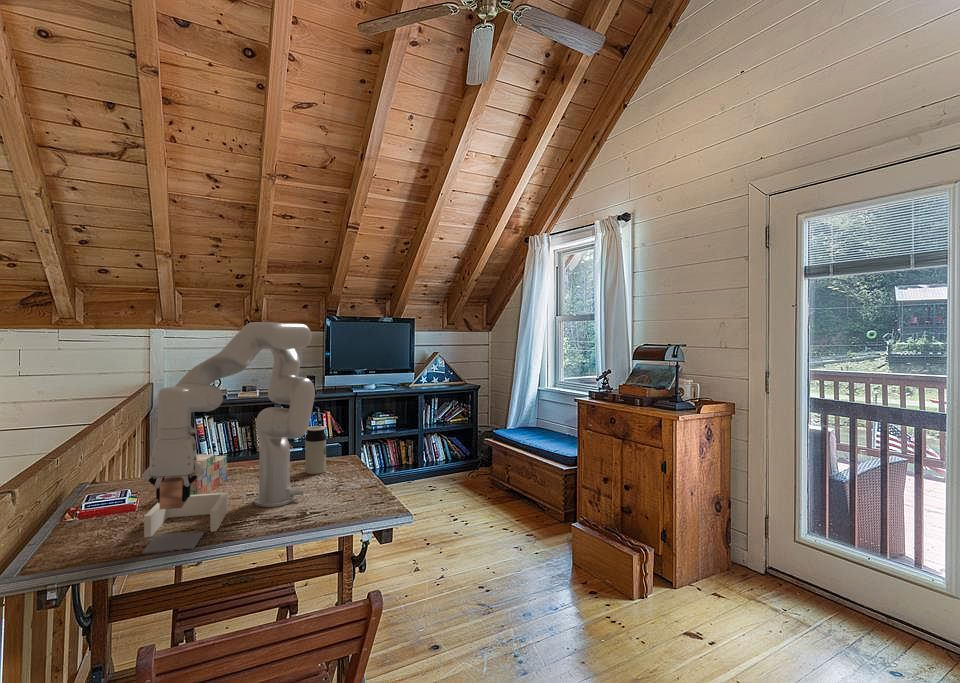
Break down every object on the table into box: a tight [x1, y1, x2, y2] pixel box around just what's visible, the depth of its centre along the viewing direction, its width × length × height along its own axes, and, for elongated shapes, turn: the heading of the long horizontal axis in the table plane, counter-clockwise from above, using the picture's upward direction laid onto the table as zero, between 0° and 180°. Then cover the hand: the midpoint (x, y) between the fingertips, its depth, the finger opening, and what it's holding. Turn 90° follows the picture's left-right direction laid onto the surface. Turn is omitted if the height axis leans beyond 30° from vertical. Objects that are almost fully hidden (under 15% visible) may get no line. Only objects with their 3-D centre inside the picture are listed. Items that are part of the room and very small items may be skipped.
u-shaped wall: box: [143, 492, 229, 538], centre depth 146 cm, size 18×16×6 cm
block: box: [160, 476, 187, 509], centre depth 132 cm, size 5×5×7 cm
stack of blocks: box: [178, 453, 228, 495], centre depth 177 cm, size 21×6×12 cm, turn 2°
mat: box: [141, 531, 205, 555], centre depth 133 cm, size 12×10×1 cm
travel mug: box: [304, 425, 327, 475], centre depth 199 cm, size 8×8×18 cm
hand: (173, 500), depth 132 cm, fingers closed on block, 4 cm apart
